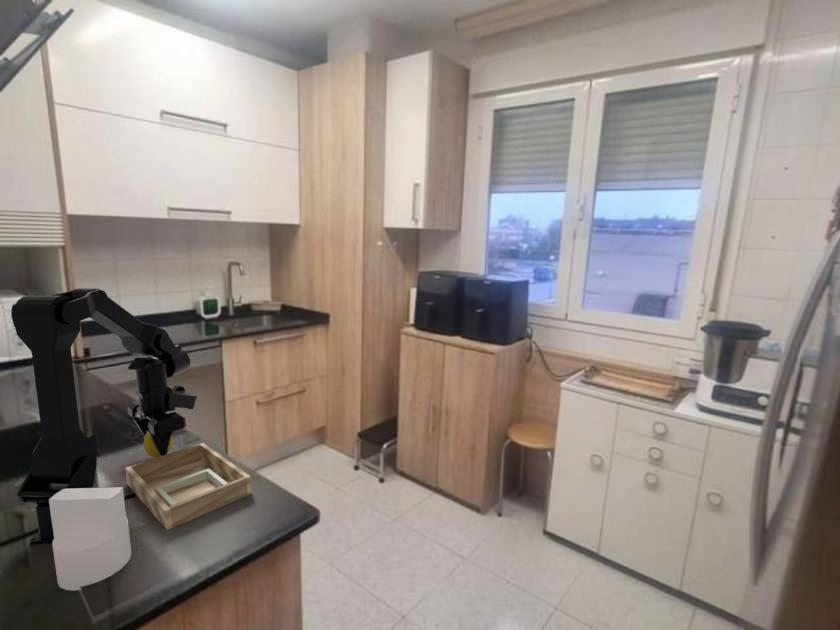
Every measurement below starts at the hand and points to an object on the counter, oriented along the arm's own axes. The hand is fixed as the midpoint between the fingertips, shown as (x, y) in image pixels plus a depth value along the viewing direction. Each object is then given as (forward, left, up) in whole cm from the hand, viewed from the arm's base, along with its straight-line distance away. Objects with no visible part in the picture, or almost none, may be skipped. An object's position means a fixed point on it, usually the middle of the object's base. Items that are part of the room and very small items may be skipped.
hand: (159, 450), depth 100 cm
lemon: (0, 0, -2) cm, 2 cm away
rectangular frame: (-18, -12, -1) cm, 22 cm away
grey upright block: (-36, -3, -2) cm, 36 cm away
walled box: (-16, -11, -2) cm, 19 cm away
